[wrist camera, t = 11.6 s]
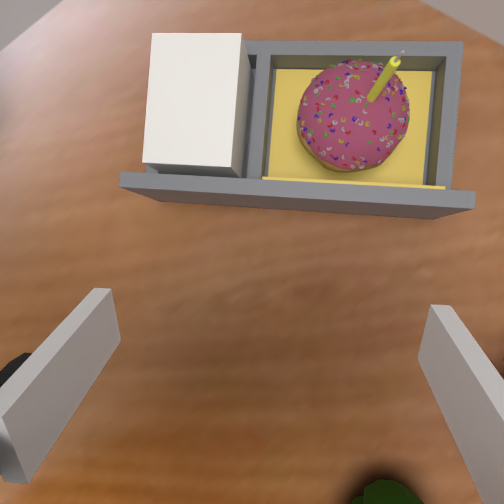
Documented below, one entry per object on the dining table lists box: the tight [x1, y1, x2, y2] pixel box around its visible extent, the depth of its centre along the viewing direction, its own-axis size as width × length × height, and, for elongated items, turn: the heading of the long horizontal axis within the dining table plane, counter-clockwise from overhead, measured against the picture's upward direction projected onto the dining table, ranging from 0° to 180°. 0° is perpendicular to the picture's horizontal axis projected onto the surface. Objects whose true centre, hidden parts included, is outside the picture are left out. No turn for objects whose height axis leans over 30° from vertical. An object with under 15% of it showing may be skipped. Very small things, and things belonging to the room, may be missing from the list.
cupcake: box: [296, 50, 410, 173], centre depth 27 cm, size 9×8×12 cm
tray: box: [119, 41, 476, 219], centre depth 31 cm, size 26×14×8 cm, turn 85°
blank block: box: [142, 33, 254, 178], centre depth 32 cm, size 7×10×7 cm
